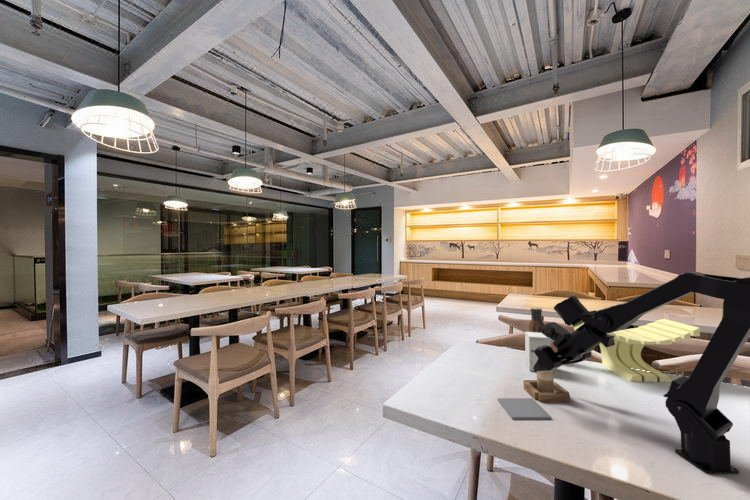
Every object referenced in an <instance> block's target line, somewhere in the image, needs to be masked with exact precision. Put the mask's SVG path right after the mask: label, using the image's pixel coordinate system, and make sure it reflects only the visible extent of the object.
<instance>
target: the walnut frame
mask: <svg viewBox="0 0 750 500" xmlns="http://www.w3.org/2000/svg"><path fill="white" fill-rule="evenodd" d="M523 390H524V391H525V392H526V393H528V395H529V396H531V398H532V399H534V400H537V401H538V402H539V403H553V402H554V403H570V402H571V394H570V392H569V391H568V390H567V389H565V388H564V387H563V386H561V385H560V384H558V383H557V382H555V381H554V392H545V393H540V392H539V391H538V390H537V379H533V380H532V379H529V380H526V379H524V380H523Z"/></svg>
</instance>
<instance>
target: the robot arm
mask: <svg viewBox="0 0 750 500" xmlns="http://www.w3.org/2000/svg"><path fill="white" fill-rule="evenodd" d="M693 293H694V294H695V293H696V294H699V295H704V296H707V297H711V298H715V299H720V300H723V302H722V317H721V321H720V322H719V324H718V326H717V327H716V329H715V331H714V333H713V334H712V337H710V340H709V341H708V344H707V345H706V347H705V349H704V350H703V353H702V355H701V356H700V358H699V360H698V362H697V363H696V365H695V367H694V368H693V370H692V372H691V375H690V376H689V377H687V376H686V375H682V376H680V377H677V378H675V379H673V380H672V382H670V385H669V390H668V391H667V392H666V393H665V394H663V395H662V396H663V397H664V398H666V399H665V407H666V408H667V410H668V412H669V414H670V415H671V416H672V417H673V418H674V419H675V423H676V425H677V427H678V429H679V432H680V447H681V448H675V449H674V452H675V454H677V455H679V456H680V457H682V458H684V460H686V461H687V462H689V463H690V464H692V465H693V466H695V467H696V468H697V469H699V470H701V471H702V472H704V473H706V474H740V469H738V468H737V467H735V466H733V465H732V463H731V441H730V440H729V439H728V438H727V436H726V435H725V434H726V433H729V432H730V430H731V429H732V427H733V426H734V423H733V422H732V421H731V420H730V419H729V418H728V417H727V416H726V415H725V414H724V413H723V412H722V411H721V410H720V409H719V408H718V404H719V400H720V388H721V384H722V383H723V381H724V379H725V378H726V376H727V375H728V373H729V371H730V370H731V368H732V366H733V364H734V363H735V361H736V359H737V358H738V357H739V354H740V353H741V351H742V350H743V348H744V346H745V344H746V342H747V341H748V339H749V338H750V276H747V277H742V278H741V277H735V276H734V277H733V276H725V275H716V274H708V273H702V272H700V271H687V272H682V273H680V274H678V275H677V276H676V277H675V278H672V279H671V280H669V281H667V282H664V283H662V284H661V285H658V286H656V287H655V288H652V289H650V290H649V291H646V292H644V293H642V294H640V295H639V296H637V297H634V298H632V299H630V300H629V301H626V302H623V303H619V304H616V305H611V306H609V307H604V308H602V309H599V310H590V311H589V310H588V309H587V308H586V306H584V305H583V303H582V302H581V301H580V299H579V298H578V297H577V296H576V295H570V296H569V297H568V298H566V299H563V300H562V301H560V302H558V303H556V304H555V305H554V307H553V310H554V311H555V313H557V315H558V316H559V317H560V318H561V319H562V320H563V322H564V323H565V324H566V325H567V326H569V327H570V326H572V327H573V328H574V327H576V326H579V325H581V324H582V323H584V324H583V325H581V326H580V327H579V328H577V329H576V330H575V331H574V330H573V331H572V332H570V331H568V329H566V328H565V327H563V326H562V325H561V324H559V323H558V322H555V321H553V322H552V321H549V322H547V323H544V326H543V327H541V329H542V330H541V332H542V334H544V335H545V336H546V337H548V338H550V339H551V341H553V342H552V344H553V346H554V347H556V350H557V351H554V350H553V347H552V346H551V347H550V346H547V345H544V346H540V347H538V348H536V349H535V350H534V353H535V354H536V356H537V357H538V360H537V362H536V364H535V365H534V367H533V369H534V370H535V371H534V372H537V371H551V370H553V371H555V370H557V369H559V368H561V367H562V366H564V365H570V364H576V363H577V364H578V363H581V362H584V361H587V360H589V359H590V358H592V351H593V349H594V348H596V347H597V346H599V344H600V343H602V344H603V345H604V346H605V347H610V346H614V345H615V342H614V336H613V335H609V334H607V333H611V332H616V331H620V330H625V329H628V328H630V326H632V325H633V324H634V323H636V322H637V321H638V320H639V319H640V318H642V317H643V316H644V315H647V314H648V313H651V312H653V311H656V310H657V309H660V308H663V307H664V306H666V305H668V304H671V303H672V302H675V301H678V300H679V299H682V298H684V297H687V296H689V295H691V294H693Z"/></svg>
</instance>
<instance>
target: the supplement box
mask: <svg viewBox="0 0 750 500" xmlns="http://www.w3.org/2000/svg"><path fill="white" fill-rule="evenodd" d="M524 336H525V337H524V339H525V341H524V342H525V343H524V345H525V346H524V348H525V349H524V350H525V355H524V356H525V365H526V367H527V369H528V371H529V372H536V371H535V370H534V369H533V367H534V365H535V364H536V362H537V359H538V357H537V356H536V354H535V353H534V350H535V349H536V348H538V347H540V346H544V345H547V346H550V347H551V348H552V339H550V338H548V337H546V336H545V335H544V334H542V333H537V332H529V331H525V332H524Z"/></svg>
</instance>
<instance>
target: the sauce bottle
mask: <svg viewBox="0 0 750 500" xmlns="http://www.w3.org/2000/svg"><path fill="white" fill-rule="evenodd" d="M542 312H543V309H542V308H540V307H531V308H530V313H531V317H530V318H531V320H530V321H529V323H528V332H537V333H542V332H541V330H542V329H541V327H543V326H544V325H545V323H544V321H543V316H542Z"/></svg>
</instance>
